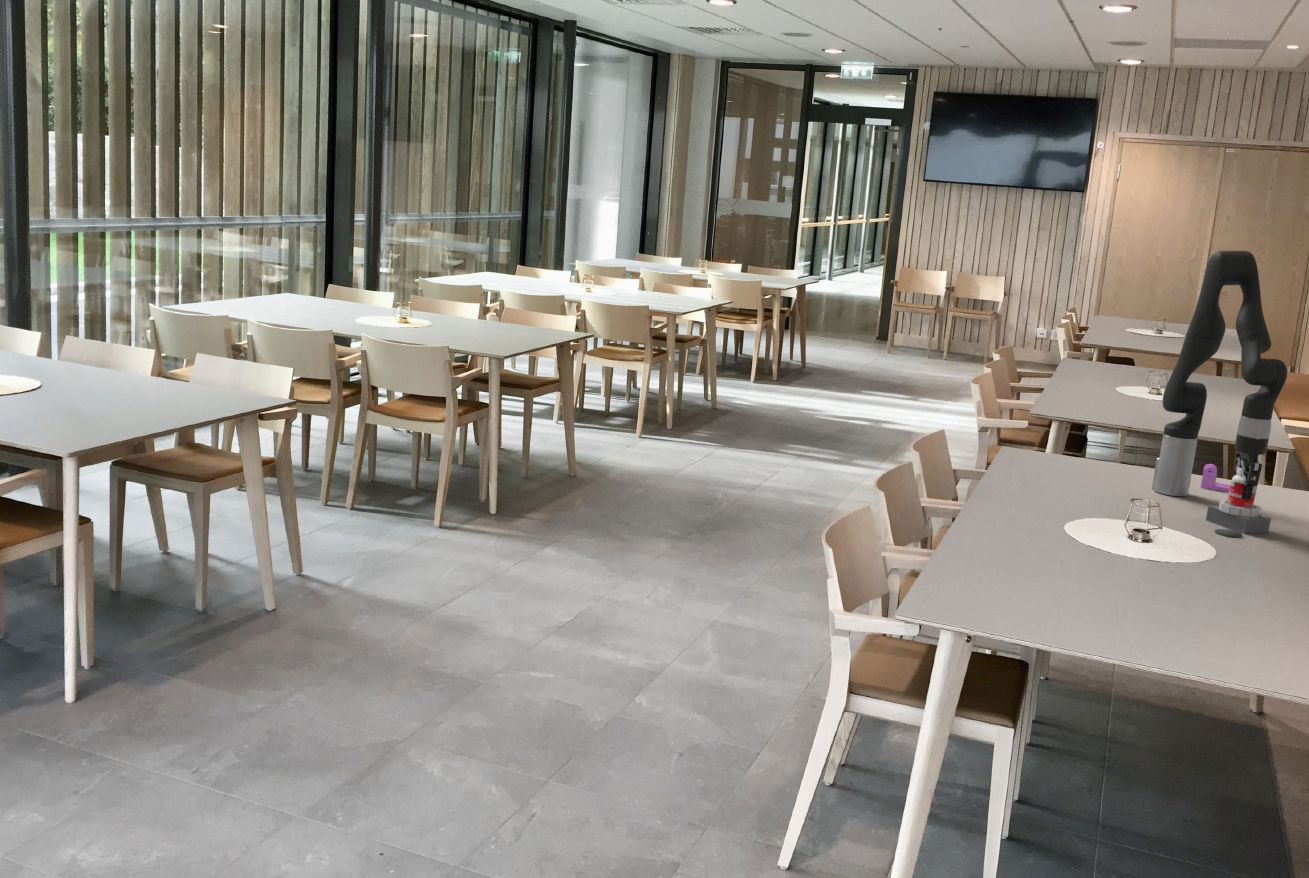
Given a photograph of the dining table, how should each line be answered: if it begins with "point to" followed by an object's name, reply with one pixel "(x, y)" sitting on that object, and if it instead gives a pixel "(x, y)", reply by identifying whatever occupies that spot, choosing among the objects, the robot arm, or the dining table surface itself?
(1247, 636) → the dining table surface
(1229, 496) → the pill bottle
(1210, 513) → the gray ring-topped block
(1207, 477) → the bracket
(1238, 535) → the lens cap
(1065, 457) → the dining table surface
